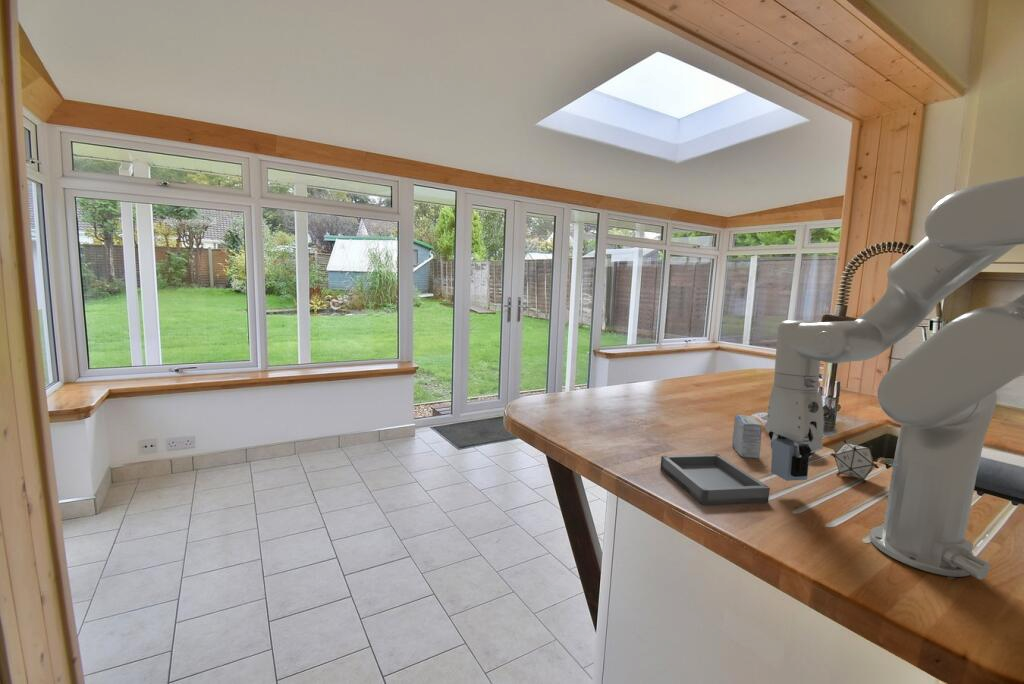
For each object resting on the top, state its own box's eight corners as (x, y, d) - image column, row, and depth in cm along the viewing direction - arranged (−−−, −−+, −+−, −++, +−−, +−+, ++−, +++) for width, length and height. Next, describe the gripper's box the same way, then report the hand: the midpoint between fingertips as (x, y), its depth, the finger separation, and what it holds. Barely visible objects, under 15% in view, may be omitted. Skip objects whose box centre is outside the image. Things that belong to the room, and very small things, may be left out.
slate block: (807, 479, 90) (809, 445, 90) (786, 480, 90) (789, 446, 89) (790, 471, 95) (792, 438, 94) (770, 472, 94) (773, 439, 93)
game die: (852, 497, 101) (853, 470, 95) (821, 469, 108) (820, 443, 102) (889, 478, 101) (891, 451, 95) (855, 452, 108) (856, 425, 102)
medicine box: (759, 459, 111) (763, 425, 110) (740, 457, 112) (743, 423, 111) (749, 447, 119) (753, 415, 118) (731, 446, 120) (734, 414, 118)
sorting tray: (768, 502, 89) (769, 487, 88) (702, 505, 87) (703, 490, 86) (716, 466, 106) (718, 454, 105) (660, 468, 103) (661, 455, 103)
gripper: (849, 390, 83) (841, 487, 84) (781, 374, 99) (775, 455, 101) (813, 391, 81) (805, 489, 83) (750, 375, 98) (744, 457, 100)
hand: (788, 469), depth 92 cm, fingers closed on slate block, 4 cm apart
